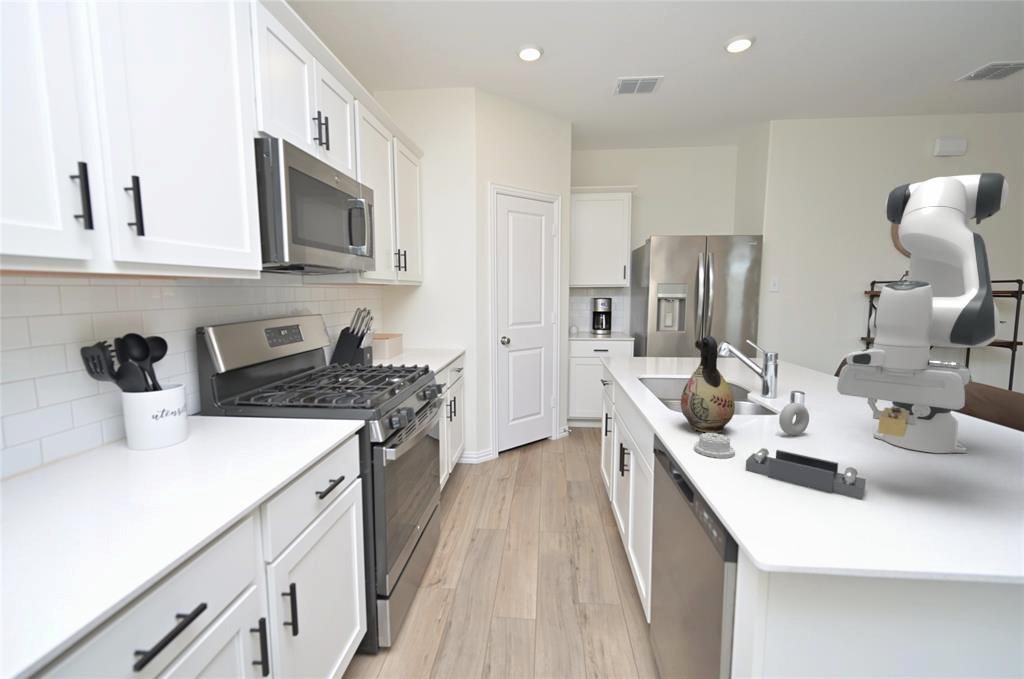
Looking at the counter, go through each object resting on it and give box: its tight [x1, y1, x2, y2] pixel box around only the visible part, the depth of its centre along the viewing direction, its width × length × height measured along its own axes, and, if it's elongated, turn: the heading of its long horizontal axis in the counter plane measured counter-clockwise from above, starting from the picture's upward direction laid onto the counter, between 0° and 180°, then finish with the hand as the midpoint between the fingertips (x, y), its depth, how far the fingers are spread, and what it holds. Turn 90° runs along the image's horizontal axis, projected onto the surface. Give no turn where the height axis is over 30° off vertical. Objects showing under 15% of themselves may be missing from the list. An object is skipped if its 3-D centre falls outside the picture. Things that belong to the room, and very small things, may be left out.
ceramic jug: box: [680, 335, 736, 434], centre depth 132 cm, size 17×15×30 cm
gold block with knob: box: [877, 406, 909, 437], centre depth 92 cm, size 4×10×4 cm, turn 134°
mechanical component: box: [693, 432, 736, 459], centre depth 116 cm, size 10×4×10 cm
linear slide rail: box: [745, 447, 867, 501], centre depth 98 cm, size 8×22×4 cm, turn 46°
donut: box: [778, 402, 810, 437], centre depth 128 cm, size 10×4×10 cm, turn 108°
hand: (893, 421), depth 92 cm, fingers closed on gold block with knob, 4 cm apart
